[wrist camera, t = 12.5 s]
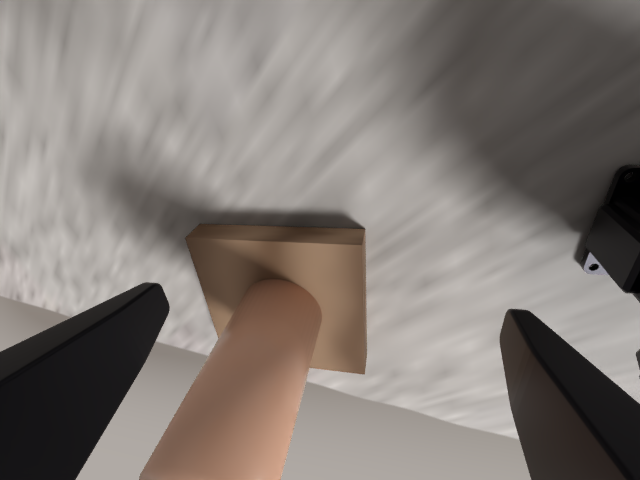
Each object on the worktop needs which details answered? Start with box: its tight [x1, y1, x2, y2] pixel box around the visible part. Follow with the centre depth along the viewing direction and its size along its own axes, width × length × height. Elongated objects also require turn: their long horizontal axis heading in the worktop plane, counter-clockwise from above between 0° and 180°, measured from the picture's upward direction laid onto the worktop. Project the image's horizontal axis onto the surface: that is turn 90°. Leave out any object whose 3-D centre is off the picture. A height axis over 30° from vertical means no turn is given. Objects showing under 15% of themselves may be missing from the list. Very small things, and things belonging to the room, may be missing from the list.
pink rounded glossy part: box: [139, 279, 322, 480], centre depth 20 cm, size 6×6×12 cm
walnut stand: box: [185, 224, 367, 374], centre depth 26 cm, size 12×12×2 cm
